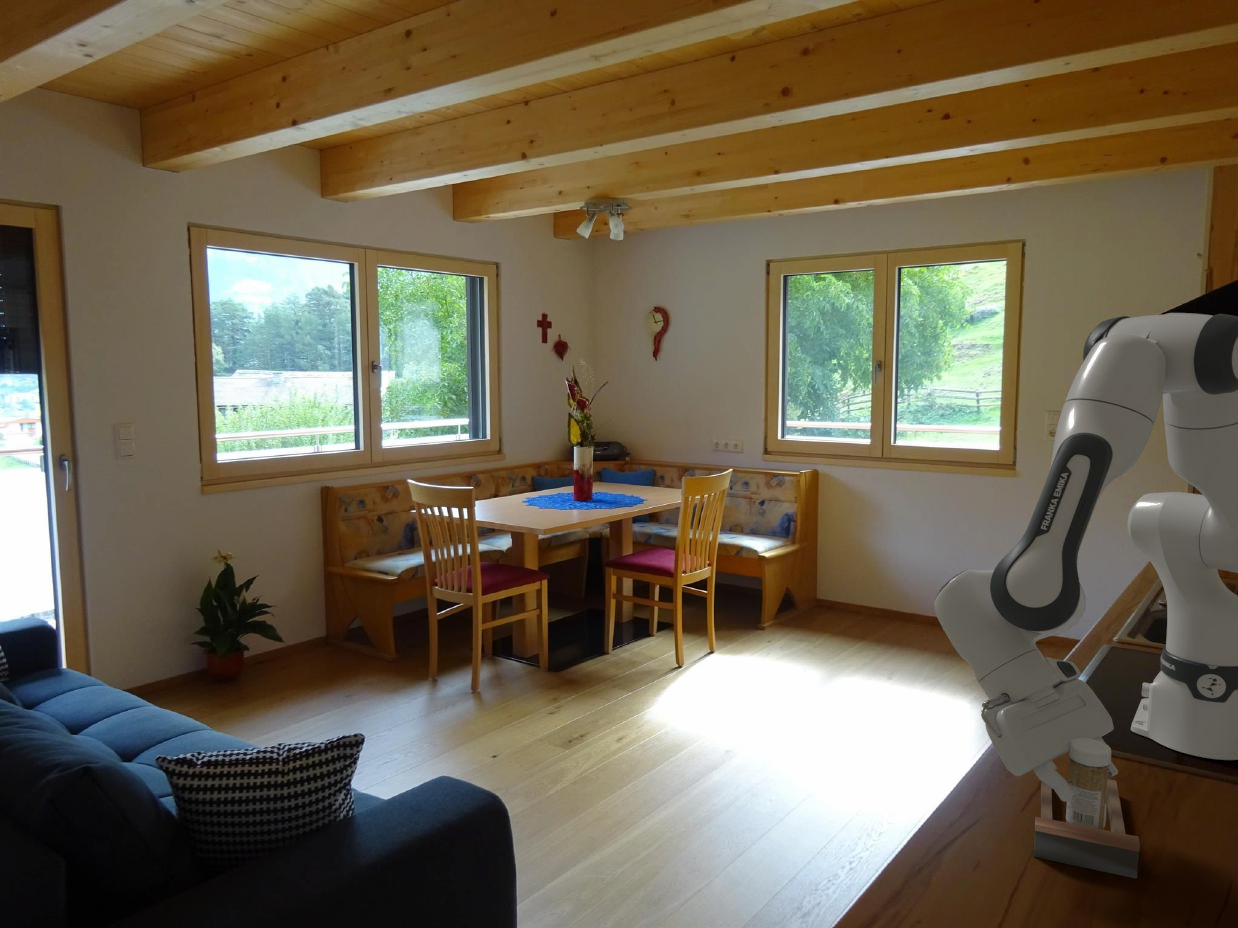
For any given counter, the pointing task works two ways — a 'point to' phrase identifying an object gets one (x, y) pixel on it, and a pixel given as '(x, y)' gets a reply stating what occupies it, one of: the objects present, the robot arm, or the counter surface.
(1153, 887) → the counter surface
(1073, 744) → the sprinkles bottle
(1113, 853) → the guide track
